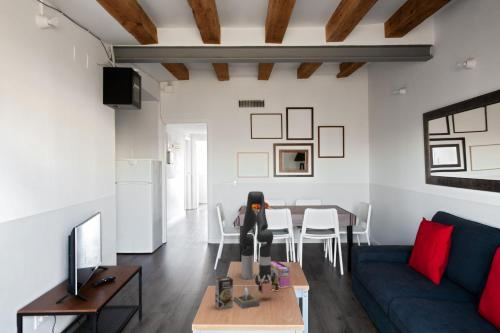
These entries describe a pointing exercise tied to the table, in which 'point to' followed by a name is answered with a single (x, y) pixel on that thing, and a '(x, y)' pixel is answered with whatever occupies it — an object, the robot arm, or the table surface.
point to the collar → (266, 287)
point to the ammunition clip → (275, 283)
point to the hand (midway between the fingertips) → (265, 290)
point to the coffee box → (223, 292)
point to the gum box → (281, 273)
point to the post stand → (246, 300)
